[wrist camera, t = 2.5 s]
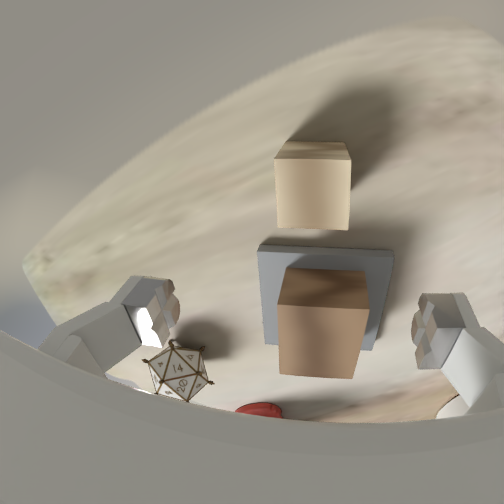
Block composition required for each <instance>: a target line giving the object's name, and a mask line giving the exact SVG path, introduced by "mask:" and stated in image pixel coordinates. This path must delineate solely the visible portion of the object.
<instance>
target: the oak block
mask: <svg viewBox="0 0 504 504" xmlns="http://www.w3.org/2000/svg"><path fill="white" fill-rule="evenodd" d="M274 169H275V185H276V203H277V222H278V228H306V229H331V230H348V224H349V208H350V186H351V158H350V156H349V153H348V151H347V148H346V146H345V143H344V142H309V141H290V142H285V144H284V145H283V146H282V148H281V149H280V151H279V152H278V154H277V155H276V157H275V158H274Z"/></svg>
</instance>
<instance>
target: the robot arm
mask: <svg viewBox="0 0 504 504" xmlns="http://www.w3.org/2000/svg"><path fill="white" fill-rule="evenodd" d="M174 290H175V287H174V285H173V282H172V281H171V280H170V279H164V278H156V277H147V276H138V275H134V276H131V277H130V278H129V279H128V280H127V281H126V283H125V284H124V285H123V286H122V287H121V288H120V290H119V291H118V292H117V293H116V294H115V296H114V297H113V298H112V299H111V300H110V301H109V302H104V303H102V304H100V305H98V306H96V307H94V308H92V309H90V310H88V311H86V312H84V313H82V314H80V315H78V316H76V317H75V318H73V319H71V320H69V321H67V322H65V323H63V324H61V325H59V326H57V327H55V328H54V329H53V331H52V332H51V333H50V334H49V335H48V337H47V338H46V339H45V341H43V343H42V344H41V345H40V346H39V348H38V349H35V348H33V347H31V346H29V345H27V344H25V343H23V342H21V341H20V340H18V339H16V338H14V337H12V336H10V335H8V334H7V333H5V332H3V331H1V330H0V504H504V344H503V343H502V342H501V341H500V340H499V339H498V338H496V337H495V336H494V335H493V334H492V333H490V332H489V331H488V330H487V329H486V328H484V327H480V325H479V323H478V321H477V319H476V316H475V314H474V312H473V310H472V307H471V305H470V303H469V301H468V299H467V297H466V295H465V294H464V293H422V295H421V296H420V299H419V302H418V305H419V308H420V310H419V311H417V312H416V313H415V314H414V318H413V321H412V328H411V335H412V341H413V343H414V344H415V345H416V346H417V349H416V352H415V356H416V361H417V367H418V369H441V371H442V372H443V373H444V375H445V376H446V377H447V378H448V380H449V381H450V382H451V384H452V385H453V386H454V388H455V389H456V390H457V392H458V393H459V394H460V395H459V396H457V397H456V398H454V399H453V400H451V401H450V402H449V403H447V404H446V405H445V406H444V407H443V408H442V409H441V410H440V411H439V412H438V414H437V416H436V419H431V420H420V421H407V422H387V423H336V422H316V421H302V420H291V419H281V418H272V417H265V416H257V415H250V414H244V413H238V412H232V411H226V410H221V409H216V408H211V407H206V406H201V405H197V404H192V403H188V402H184V401H179V400H176V399H172V398H168V397H164V396H161V395H157V394H153V393H150V392H147V391H143V390H140V389H136V388H133V387H130V386H127V385H124V384H121V383H118V382H115V381H112V380H109V379H108V378H107V377H106V375H105V374H104V373H105V372H106V371H107V370H109V369H110V368H112V367H113V366H114V365H116V364H117V363H118V362H120V361H121V360H122V359H124V358H125V357H126V356H128V355H129V354H131V353H132V352H133V351H135V350H136V349H137V348H139V347H140V346H141V345H142V344H145V345H150V346H156V347H161V348H162V347H163V346H164V344H165V342H166V340H167V339H168V337H169V335H170V332H169V328H171V327H173V326H174V325H176V323H177V321H178V319H179V314H180V304H179V301H178V299H177V298H176V297H175V296H174V295H173V292H174Z"/></svg>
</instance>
